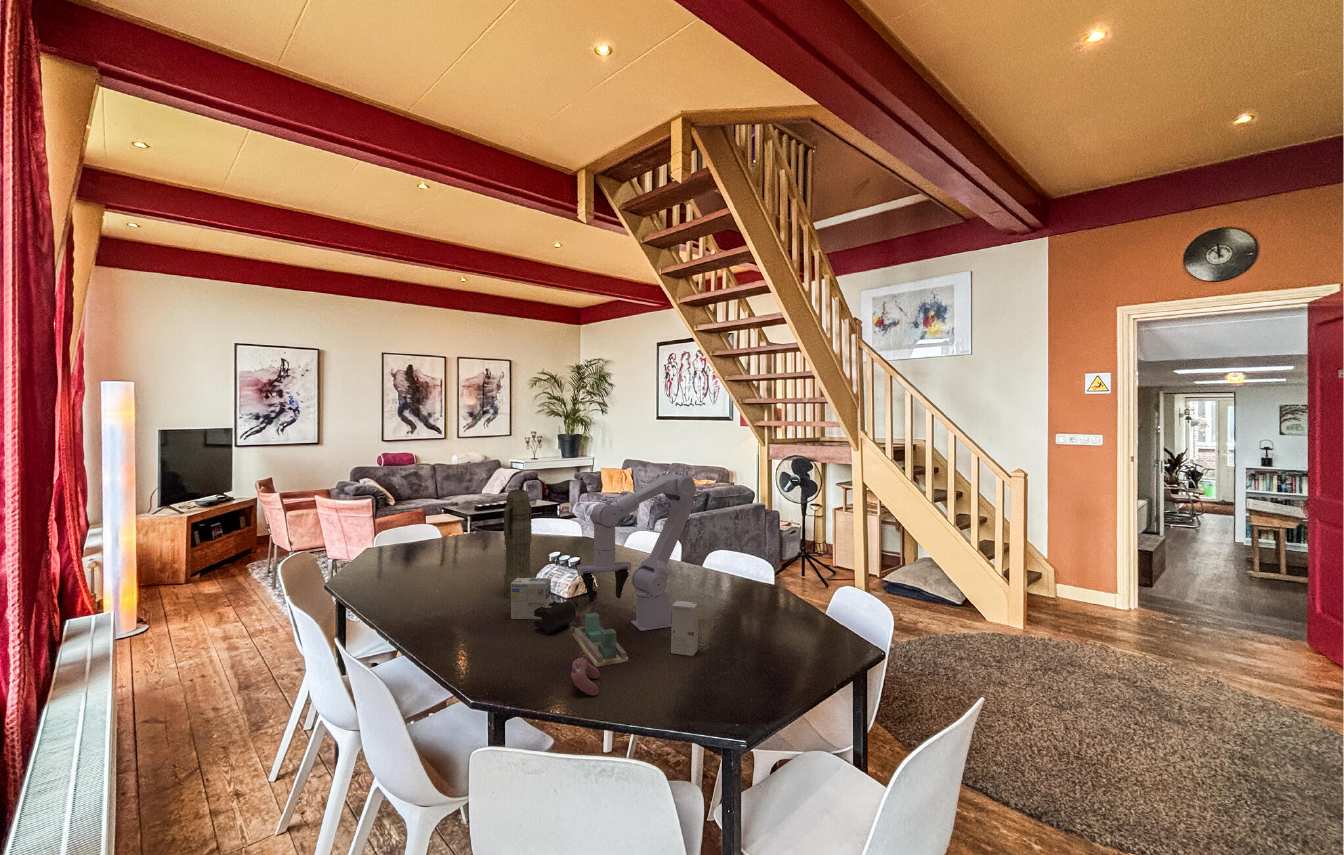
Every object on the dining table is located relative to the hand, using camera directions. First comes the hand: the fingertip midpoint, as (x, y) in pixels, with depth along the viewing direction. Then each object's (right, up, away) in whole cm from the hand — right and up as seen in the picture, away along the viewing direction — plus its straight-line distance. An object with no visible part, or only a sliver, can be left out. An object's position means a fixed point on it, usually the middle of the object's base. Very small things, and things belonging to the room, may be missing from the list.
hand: (604, 599), depth 161 cm
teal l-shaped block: (-2, -9, -4) cm, 10 cm away
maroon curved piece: (-1, -10, -31) cm, 33 cm away
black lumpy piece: (-15, -10, +6) cm, 19 cm away
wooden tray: (0, -10, -9) cm, 13 cm away
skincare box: (+21, -10, -11) cm, 26 cm away
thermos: (-33, -10, +39) cm, 52 cm away
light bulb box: (-24, -10, +17) cm, 31 cm away
